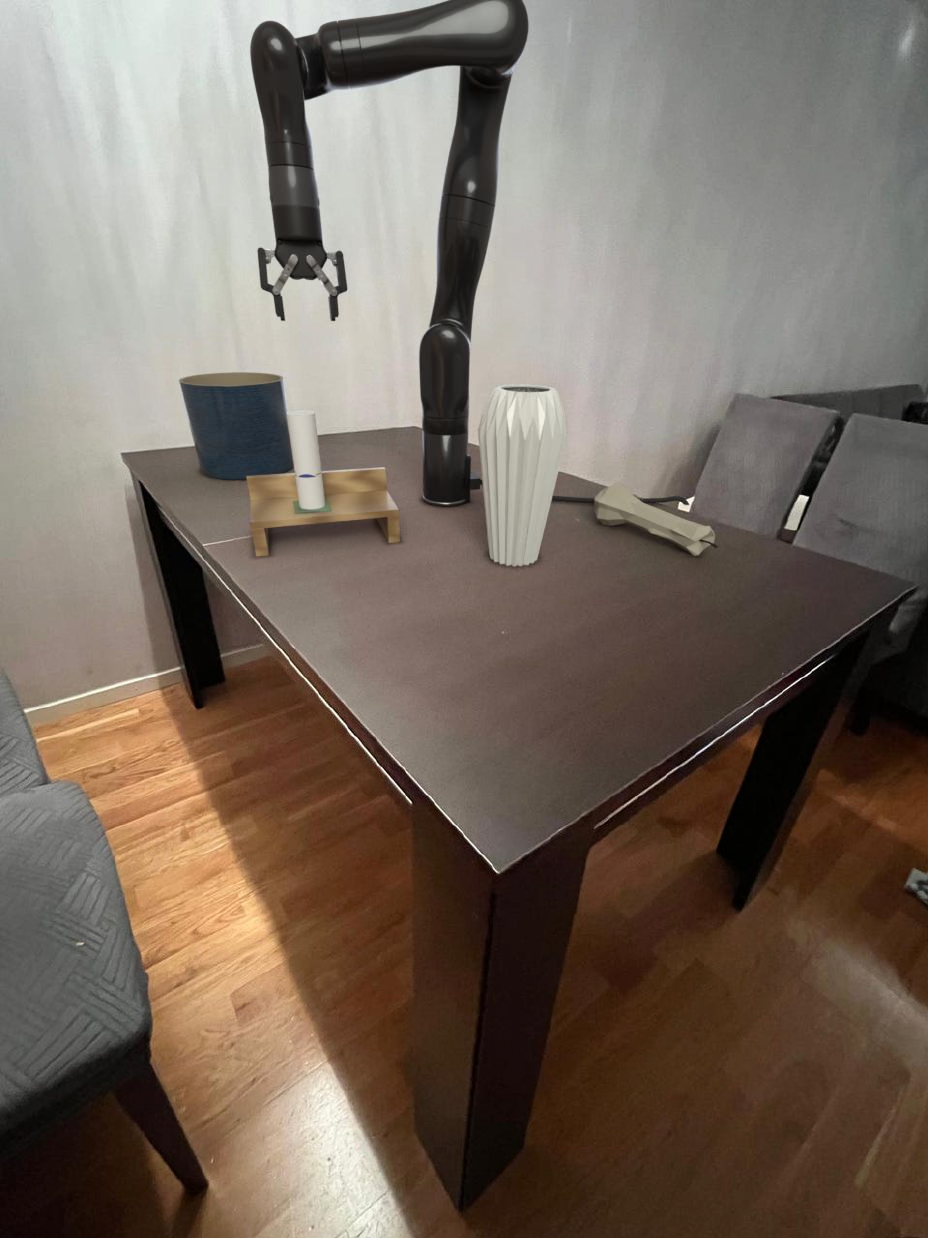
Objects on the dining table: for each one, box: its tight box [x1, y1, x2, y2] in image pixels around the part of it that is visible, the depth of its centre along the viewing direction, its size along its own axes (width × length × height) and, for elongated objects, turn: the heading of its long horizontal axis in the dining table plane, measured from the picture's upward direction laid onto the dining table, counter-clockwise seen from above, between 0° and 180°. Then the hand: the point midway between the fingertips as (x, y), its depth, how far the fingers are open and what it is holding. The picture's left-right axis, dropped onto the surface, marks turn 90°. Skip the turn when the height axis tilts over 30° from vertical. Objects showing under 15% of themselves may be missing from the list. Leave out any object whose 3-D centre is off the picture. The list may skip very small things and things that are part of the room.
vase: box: [477, 383, 568, 568], centre depth 85 cm, size 13×13×26 cm
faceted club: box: [593, 480, 719, 557], centre depth 98 cm, size 9×8×25 cm
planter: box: [178, 371, 294, 481], centre depth 129 cm, size 22×22×20 cm
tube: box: [286, 409, 325, 509], centre depth 89 cm, size 4×4×15 cm
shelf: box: [246, 466, 401, 558], centre depth 95 cm, size 24×12×10 cm, turn 108°
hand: (308, 320), depth 96 cm, fingers open, 8 cm apart
